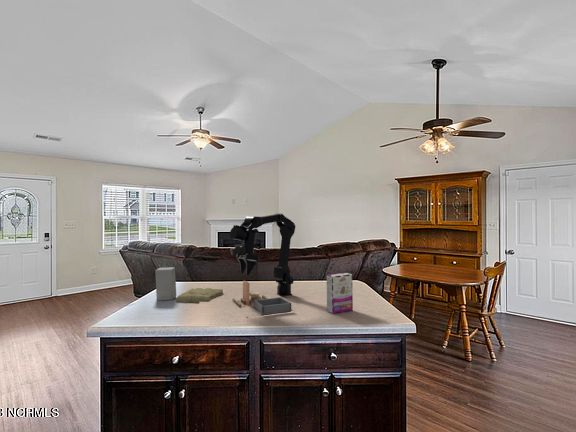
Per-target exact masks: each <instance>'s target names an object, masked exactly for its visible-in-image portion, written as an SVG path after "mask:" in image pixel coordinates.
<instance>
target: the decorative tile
mask: <svg viewBox="0 0 576 432" xmlns="http://www.w3.org/2000/svg"><path fill="white" fill-rule="evenodd" d="M222 295H224V291H223V288H211V287H204V288H203V287H202V288H201V287H196V288H193V287H192V288H191V289H188V290H186V291H185V292H182V293H180V294H179V295H178V296H176V297H175V303H197V302H198V303H200V302H211V301H212V299H215V298H216V297H219V296H222Z"/></svg>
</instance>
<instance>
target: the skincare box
mask: <svg viewBox="0 0 576 432" xmlns="http://www.w3.org/2000/svg"><path fill="white" fill-rule="evenodd" d="M155 292H156V294H155V296H156V301H173V300H174V299H176V298H177V280H176V267H174V266H173V267H172V266H171V267H158V268H156V269H155Z"/></svg>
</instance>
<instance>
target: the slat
mask: <svg viewBox="0 0 576 432" xmlns="http://www.w3.org/2000/svg"><path fill="white" fill-rule="evenodd" d="M249 293H250V282H249V281H247V280H242V298H243V299H244V300H245V301H246V305H249V299H250V296H249Z"/></svg>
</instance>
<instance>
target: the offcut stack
mask: <svg viewBox="0 0 576 432" xmlns="http://www.w3.org/2000/svg"><path fill="white" fill-rule="evenodd" d="M261 298H262V296H260V293H259V292H257V291H251V292H250V291H249V299H250V300H251V302H252V303H253V304H254V300H260V299H261Z"/></svg>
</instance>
